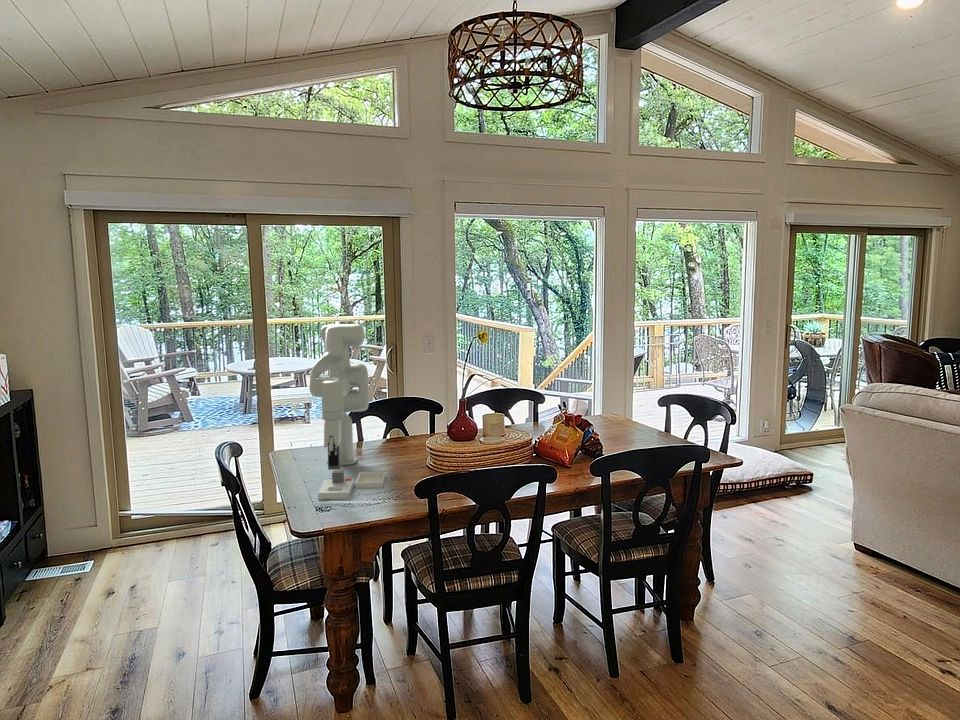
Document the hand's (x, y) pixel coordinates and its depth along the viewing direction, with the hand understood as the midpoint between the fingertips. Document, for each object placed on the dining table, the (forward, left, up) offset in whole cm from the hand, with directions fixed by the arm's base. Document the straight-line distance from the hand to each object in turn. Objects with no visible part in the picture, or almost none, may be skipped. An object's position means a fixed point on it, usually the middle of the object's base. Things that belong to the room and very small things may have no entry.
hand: (334, 463), depth 240 cm
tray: (-15, +11, -13) cm, 22 cm away
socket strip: (-4, 0, -13) cm, 13 cm away
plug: (0, 0, -2) cm, 2 cm away
